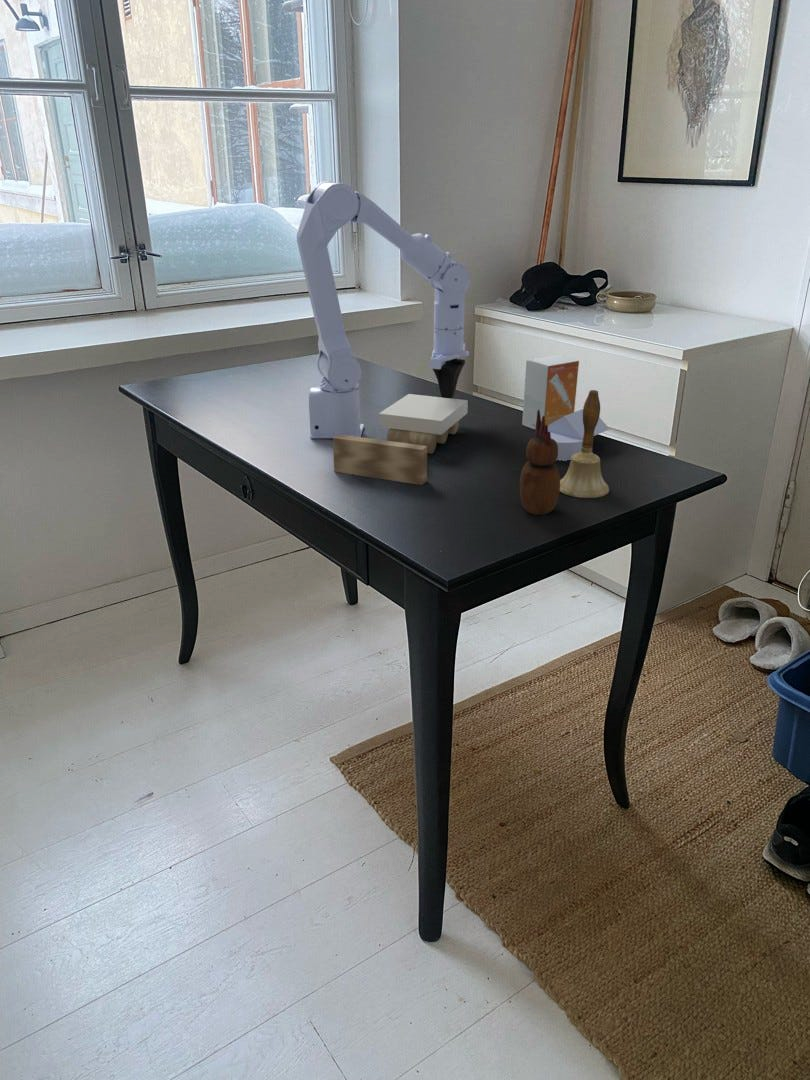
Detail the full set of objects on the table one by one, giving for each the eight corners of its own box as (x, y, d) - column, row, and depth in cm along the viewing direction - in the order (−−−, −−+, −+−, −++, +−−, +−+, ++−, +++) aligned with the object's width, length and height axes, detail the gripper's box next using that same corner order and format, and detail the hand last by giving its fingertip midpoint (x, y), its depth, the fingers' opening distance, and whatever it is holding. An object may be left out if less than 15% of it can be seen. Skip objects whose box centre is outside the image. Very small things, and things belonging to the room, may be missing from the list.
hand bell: (583, 476, 136) (592, 381, 129) (620, 491, 129) (632, 393, 123) (545, 486, 132) (552, 389, 125) (581, 502, 125) (591, 401, 119)
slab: (379, 426, 147) (378, 413, 146) (408, 406, 159) (408, 393, 158) (441, 434, 143) (441, 420, 142) (467, 413, 155) (467, 400, 153)
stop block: (334, 471, 138) (332, 437, 135) (339, 467, 140) (338, 434, 137) (422, 485, 132) (422, 449, 130) (426, 480, 134) (427, 446, 131)
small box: (543, 433, 156) (548, 365, 150) (521, 425, 161) (525, 359, 155) (574, 426, 160) (580, 360, 154) (551, 418, 165) (556, 353, 159)
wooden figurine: (516, 501, 126) (522, 406, 120) (554, 501, 126) (561, 407, 119) (520, 519, 120) (526, 420, 113) (560, 519, 120) (568, 420, 113)
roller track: (366, 466, 140) (366, 444, 138) (420, 425, 161) (420, 406, 159) (409, 472, 137) (409, 450, 136) (458, 430, 158) (459, 410, 156)
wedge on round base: (566, 436, 155) (525, 452, 146) (569, 401, 152) (527, 416, 143) (608, 446, 149) (567, 464, 141) (611, 411, 146) (571, 427, 138)
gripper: (455, 336, 147) (454, 409, 153) (480, 322, 159) (478, 390, 165) (419, 333, 150) (419, 405, 156) (446, 319, 162) (445, 386, 168)
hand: (447, 397), depth 161 cm, fingers closed
